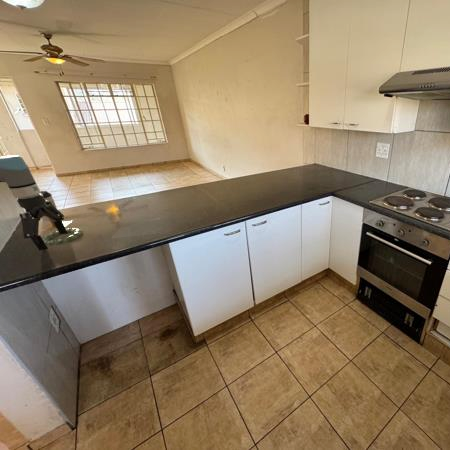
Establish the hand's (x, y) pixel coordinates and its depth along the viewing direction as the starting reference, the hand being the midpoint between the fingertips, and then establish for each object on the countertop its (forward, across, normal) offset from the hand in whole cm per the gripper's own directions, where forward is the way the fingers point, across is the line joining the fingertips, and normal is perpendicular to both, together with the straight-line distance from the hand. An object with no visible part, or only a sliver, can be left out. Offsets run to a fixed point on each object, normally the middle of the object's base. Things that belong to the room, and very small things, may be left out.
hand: (54, 241), depth 108 cm
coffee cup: (+2, +34, +21) cm, 40 cm away
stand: (+2, +20, +10) cm, 22 cm away
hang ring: (+1, +6, 0) cm, 6 cm away
